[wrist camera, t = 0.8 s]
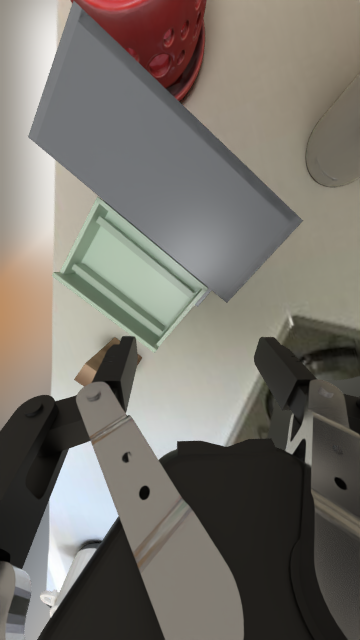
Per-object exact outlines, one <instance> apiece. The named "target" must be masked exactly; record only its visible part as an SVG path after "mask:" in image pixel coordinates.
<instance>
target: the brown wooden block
mask: <svg viewBox="0 0 360 640" xmlns="http://www.w3.org/2000/svg"><path fill="white" fill-rule="evenodd" d="M113 344H120V341H119V340H118V339H117V338H114V339H113V340H111V341H110V342H109V343H108V344H107V345H106V346H105V347H103V348H102V349H101V350H100V351H99V352H98V353H97V354H96V355H94V356H93V357H92V358H91V359H90V360H89V361H88V362H86V363H85V365H84V366H83V367H82V369H81V370H80V372H79V373H78V375H77V376H76V378H75V379H74V380H75V381H77V382H78V383H80V384H81V385H83V386H84V387H85V386H86V385H88V384H90V383H92V381H93V379H94V376H95V374H96V372H97V370H98V368H99V366H100V364H101V363H102V360H103V358H104V357H105V354H106V352H107V350H108V349H109V348H110V347H111V346H112V345H113ZM137 356H138V360H137V365H138V363H139V362H140V360H141V359H142V357H141V356H140V355H138V354H137Z"/></svg>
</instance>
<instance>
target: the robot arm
mask: <svg viewBox="0 0 360 640" xmlns="http://www.w3.org/2000/svg"><path fill="white" fill-rule="evenodd" d="M306 162H307V167H308V170H309V172H310V174H311V176H312V177H313V178H314V180H316V181H317V182H318V183H320V184H322V185H325V186H330V187H337V186H343V185H346V184H349V183H351V182H353V181H355V180H357V179H358V178H360V73H359V74H358V75H357V76H356V78H355V79H354V80H353V81H352V82H351V84H350V85H349V86H348V87H347V88H346V90H345V91H344V92H343V93H342V94H341V95H340V97H339V98H338V99H337V100H336V101H335V103H334V104H333V105H332V106H331V107H330V109H329V110H328V111H327V112H326V113H325V115H324V116H323V117H322V118H321V119H320V121H319V122H318V123H317V125H316V126H315V128H314V130H313V132H312V134H311V136H310V139H309V141H308V146H307V150H306ZM137 360H138V356H137V346H136V337H135V336H123V337H122V339H121V341H120V344H113V345H112V346H111V347H110V348H109V349H108V350H107V352H106V354H105V357H104V358H103V360H102V363H101V364H100V366H99V368H98V370H97V372H96V374H95V376H94V379H93V381H92V383H90V384H88V385H86V386H85V387H83V388H82V389H81V390H80V391H79V393H78V394H77V395H76V396H73V397H70V398H66V399H62V400H59V401H55V400H54V398H53V397H51V396H49V395H41V396H37V397H34V398H32V399H30V400H28V401H26V402H25V403H23V404H22V405H21V406H20V407H19V408H18V409H17V410H16V411H15V412H14V414H13V415H12V416H11V418H10V419H9V420H8V422H7V423H6V424H5V426H4V427H3V428H2V430H1V431H0V640H25V637H24V627H25V618H26V614H27V610H28V606H29V602H30V597H31V580H30V577H29V575H28V574H27V573H26V572H25V571H23V570H22V568H23V565H24V563H25V560H26V558H27V555H28V552H29V550H30V547H31V545H32V542H33V539H34V537H35V534H36V532H37V529H38V527H39V524H40V521H41V518H42V516H43V514H44V511H45V509H46V506H47V504H48V501H49V498H50V496H51V493H52V491H53V488H54V486H55V483H56V480H57V478H58V475H59V473H60V470H61V468H62V465H63V462H64V460H65V457H66V455H67V452H68V450H69V448H72V447H74V446H77V445H80V444H83V443H86V442H88V441H91V443H92V446H93V448H94V451H95V454H96V456H97V459H98V462H99V464H100V467H101V470H102V472H103V475H104V478H105V480H106V483H107V486H108V488H109V491H110V494H111V496H112V499H113V502H114V504H115V507H116V510H117V512H118V515H119V516H118V518H117V519H116V521H115V522H114V524H113V525H112V527H111V528H110V530H109V531H108V533H107V534H106V536H105V537H104V539H103V540H102V542H101V543H100V545H99V546H98V548H97V549H96V551H95V552H94V554H93V555H92V557H91V558H90V560H89V561H88V563H87V564H86V566H85V567H84V569H83V570H82V572H81V573H80V575H79V576H78V578H77V579H76V581H75V582H74V584H73V585H72V587H71V588H70V590H69V591H68V593H67V594H66V596H65V597H64V599H63V600H62V602H61V603H60V605H59V606H58V608H57V609H56V611H55V612H54V614H53V615H52V617H51V618H50V620H49V621H48V623H47V624H46V626H45V628H44V629H43V631H42V632H41V634H40V636H39V638H38V639H37V640H360V397H354V396H350V395H346V394H343V393H342V392H341V391H340V390H339V389H338V388H337V387H335V386H334V385H332V384H331V383H329V382H326V381H323V380H318V379H316V378H315V376H314V375H313V374H312V373H311V372H310V371H309V370H308V369H307V368H306V367H305V366H304V365H303V364H302V362H300V360H299V359H298V358H297V357H295V355H294V354H293V353H292V352H291V351H290V350H289V349H288V348H286V347H285V346H283V345H281V344H280V343H279V342H278V341H277V340H276V339H275V338H274V337H261V338H260V339H259V342H258V345H257V349H256V352H255V355H254V362H255V365H256V367H257V369H258V370H259V372H260V374H261V375H262V377H263V379H264V380H265V382H266V384H267V386H268V387H269V389H270V391H271V392H272V394H273V396H274V397H275V399H276V401H277V402H278V404H279V406H280V407H281V409H282V410H291V411H292V412H293V414H292V416H291V421H290V427H289V435H288V441H287V447H286V450H285V451H284V450H282V449H279V448H276V447H275V445H274V443H273V441H272V439H248V440H245V441H243V442H240V443H237V444H234V445H232V446H229V447H224V446H220V445H216V444H212V443H208V442H204V441H177V449H176V450H174V451H171V452H169V453H167V454H166V455H164V456H163V457H161V458H160V459H159V460H158V459H157V457H156V455H155V454H154V452H153V451H152V449H151V447H150V446H149V444H148V443H147V441H146V439H145V438H144V436H143V434H142V433H141V431H140V430H139V428H138V426H137V425H136V423H135V422H134V420H133V419H132V417H131V416H130V415H128V416H127V415H126V414H125V413H126V411H127V406H128V402H129V398H130V393H131V389H132V385H133V380H134V376H135V372H136V367H137Z"/></svg>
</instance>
